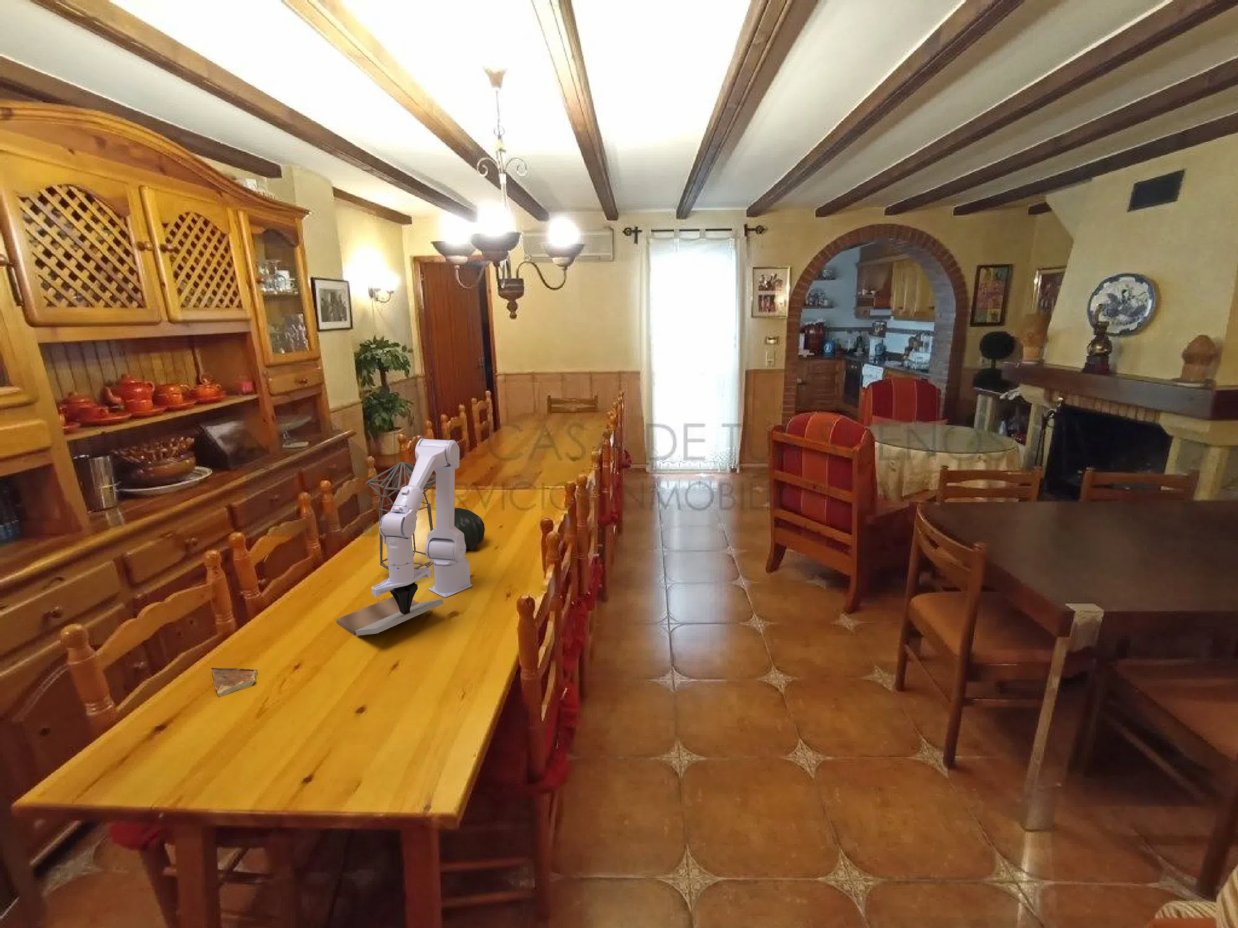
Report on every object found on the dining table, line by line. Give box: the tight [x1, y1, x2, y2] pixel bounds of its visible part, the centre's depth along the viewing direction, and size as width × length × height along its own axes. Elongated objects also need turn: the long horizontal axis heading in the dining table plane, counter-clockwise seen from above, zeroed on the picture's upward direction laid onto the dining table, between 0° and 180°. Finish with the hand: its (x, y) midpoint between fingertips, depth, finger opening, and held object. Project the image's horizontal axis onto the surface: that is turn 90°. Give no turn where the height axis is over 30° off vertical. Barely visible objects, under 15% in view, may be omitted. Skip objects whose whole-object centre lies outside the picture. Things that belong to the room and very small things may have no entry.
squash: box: [454, 507, 486, 551], centre depth 187 cm, size 14×15×15 cm
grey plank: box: [355, 598, 445, 636], centre depth 137 cm, size 18×11×1 cm, turn 142°
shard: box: [210, 667, 258, 697], centre depth 118 cm, size 11×8×2 cm
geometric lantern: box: [365, 461, 436, 571], centre depth 163 cm, size 16×16×35 cm
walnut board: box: [335, 596, 420, 636], centre depth 144 cm, size 18×9×1 cm, turn 142°
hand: (405, 612), depth 135 cm, fingers closed, pressing on grey plank
